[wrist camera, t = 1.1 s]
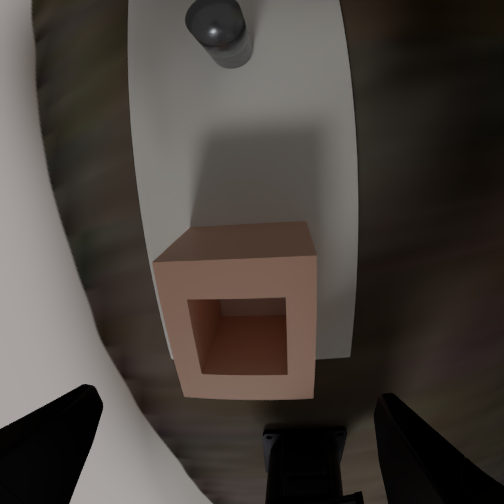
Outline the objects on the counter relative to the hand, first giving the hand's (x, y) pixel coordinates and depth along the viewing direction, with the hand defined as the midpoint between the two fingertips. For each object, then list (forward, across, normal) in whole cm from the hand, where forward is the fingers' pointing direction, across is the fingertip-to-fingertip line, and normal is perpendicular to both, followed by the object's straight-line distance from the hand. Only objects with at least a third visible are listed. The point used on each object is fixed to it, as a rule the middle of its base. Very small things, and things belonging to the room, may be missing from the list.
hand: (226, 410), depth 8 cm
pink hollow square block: (+9, 0, 0) cm, 9 cm away
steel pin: (+10, 0, -12) cm, 15 cm away
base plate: (+10, 0, -6) cm, 11 cm away
